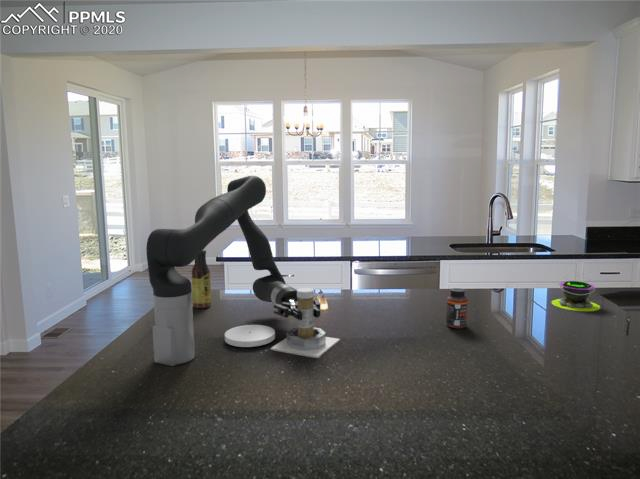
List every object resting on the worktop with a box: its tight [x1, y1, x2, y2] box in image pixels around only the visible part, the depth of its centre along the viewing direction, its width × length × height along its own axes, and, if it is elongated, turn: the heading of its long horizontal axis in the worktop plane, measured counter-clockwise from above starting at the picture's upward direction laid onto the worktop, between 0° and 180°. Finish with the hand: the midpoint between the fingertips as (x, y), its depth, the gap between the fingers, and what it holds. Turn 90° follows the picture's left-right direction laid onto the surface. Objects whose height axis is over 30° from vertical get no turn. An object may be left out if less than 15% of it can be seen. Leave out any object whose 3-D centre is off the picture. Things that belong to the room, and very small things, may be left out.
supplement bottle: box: [445, 288, 468, 330], centre depth 149 cm, size 6×6×11 cm
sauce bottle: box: [191, 249, 212, 309], centre depth 171 cm, size 7×6×20 cm
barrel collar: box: [286, 327, 327, 351], centre depth 135 cm, size 10×10×3 cm
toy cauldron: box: [551, 273, 601, 312], centre depth 170 cm, size 15×15×11 cm
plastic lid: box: [224, 324, 276, 348], centre depth 139 cm, size 14×14×2 cm
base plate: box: [270, 336, 341, 359], centre depth 135 cm, size 14×14×1 cm
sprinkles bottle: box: [296, 287, 315, 338], centre depth 134 cm, size 5×5×13 cm
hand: (309, 315), depth 132 cm, fingers closed on sprinkles bottle, 4 cm apart
